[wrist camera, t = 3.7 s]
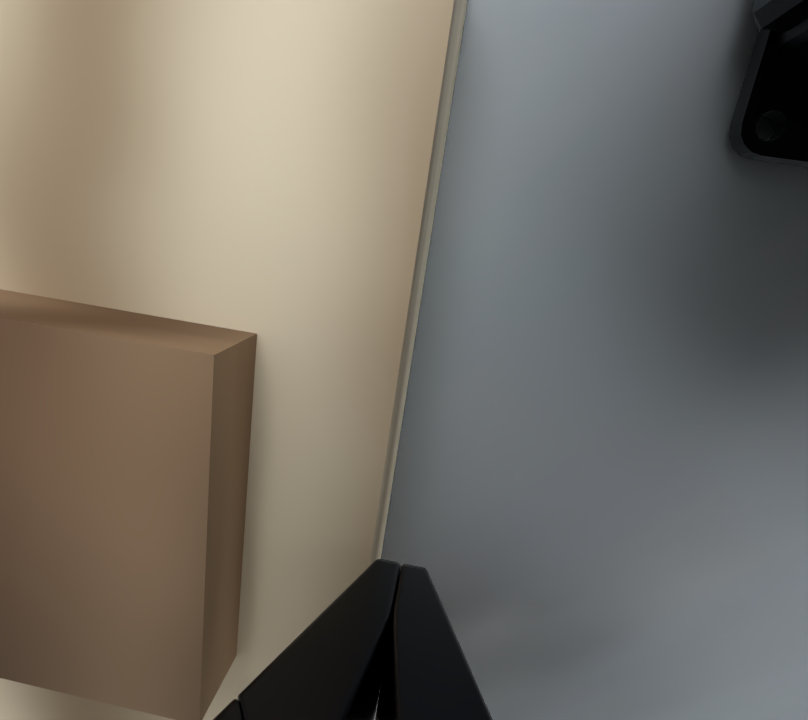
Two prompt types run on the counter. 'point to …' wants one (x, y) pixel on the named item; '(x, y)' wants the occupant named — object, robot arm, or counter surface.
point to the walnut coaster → (121, 502)
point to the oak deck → (243, 243)
